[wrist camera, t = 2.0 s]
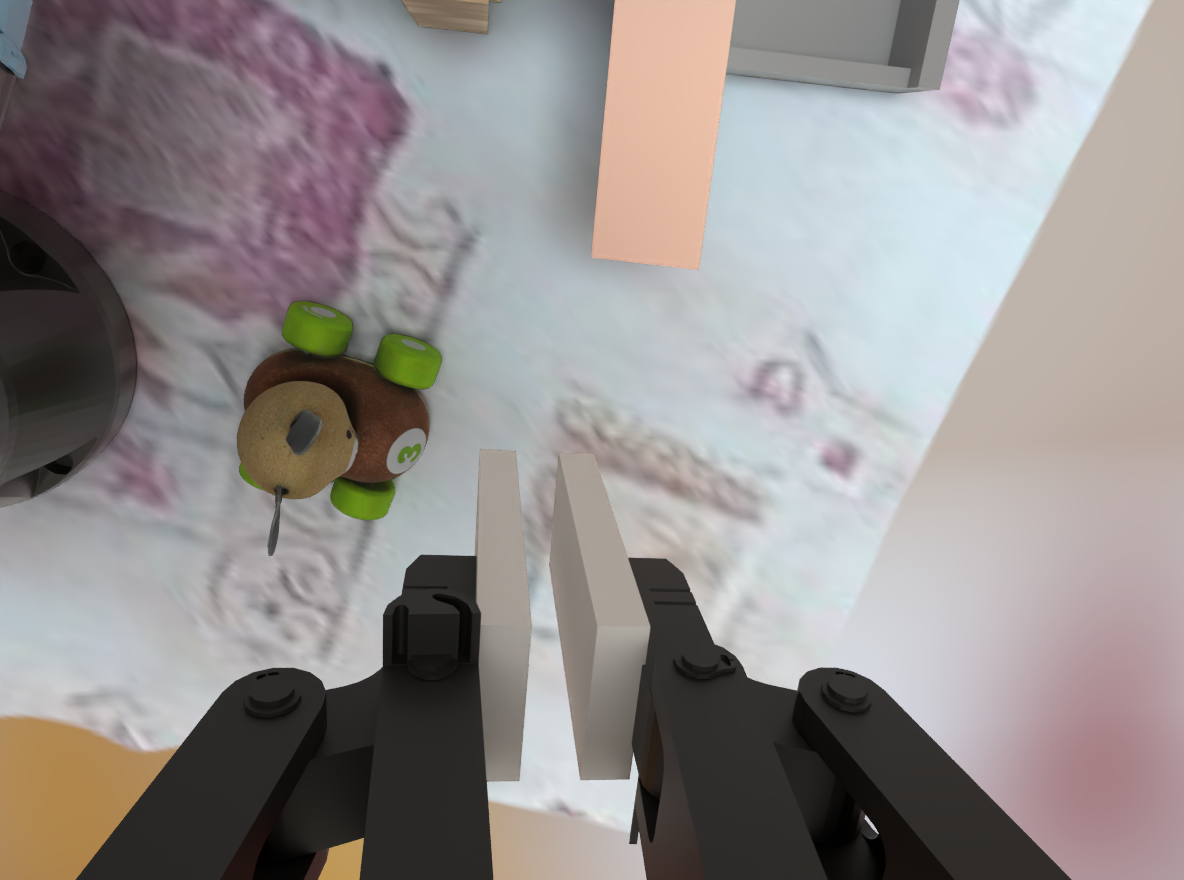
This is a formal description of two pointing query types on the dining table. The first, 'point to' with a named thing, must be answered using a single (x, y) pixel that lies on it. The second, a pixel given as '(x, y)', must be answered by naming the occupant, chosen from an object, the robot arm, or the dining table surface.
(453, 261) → the dining table surface
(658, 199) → the lever
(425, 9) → the fulcrum
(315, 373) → the toy car
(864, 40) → the tray
